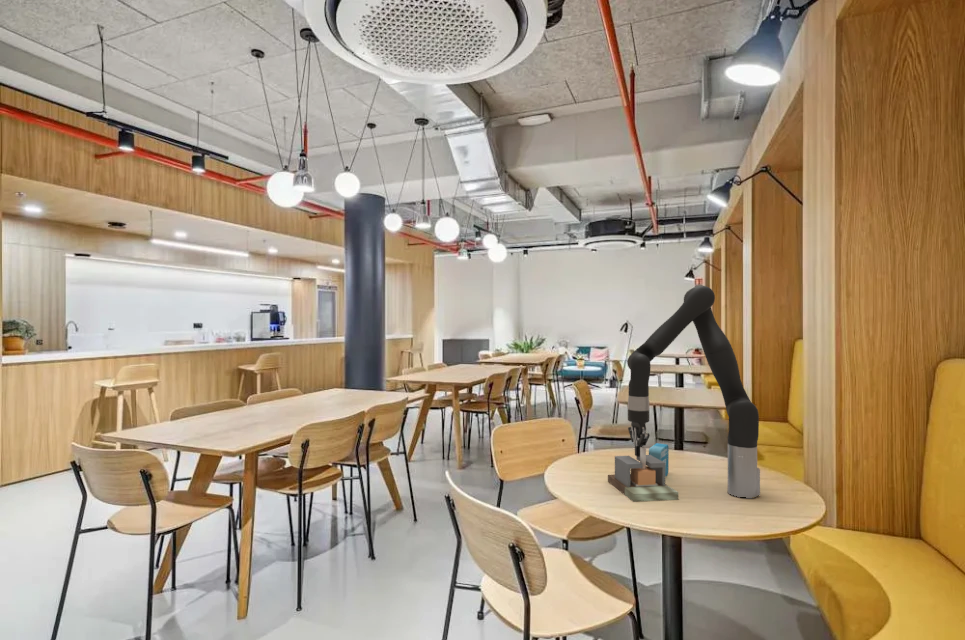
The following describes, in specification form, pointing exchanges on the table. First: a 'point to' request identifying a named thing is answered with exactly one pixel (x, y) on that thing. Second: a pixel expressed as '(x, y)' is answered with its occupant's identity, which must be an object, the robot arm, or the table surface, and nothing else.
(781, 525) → the table surface
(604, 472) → the table surface
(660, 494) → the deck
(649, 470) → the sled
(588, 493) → the table surface
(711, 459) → the table surface
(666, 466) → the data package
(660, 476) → the tunnel
